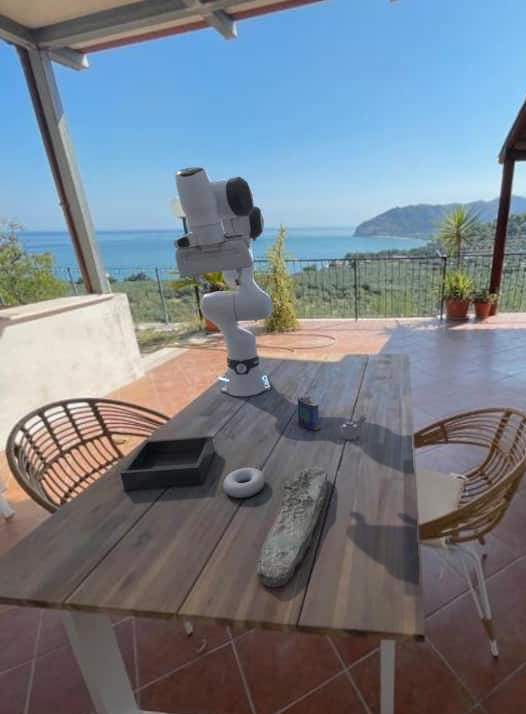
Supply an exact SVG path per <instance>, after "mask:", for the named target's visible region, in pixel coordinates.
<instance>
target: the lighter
mask: <svg viewBox="0 0 526 714" xmlns="http://www.w3.org/2000/svg"><path fill="white" fill-rule="evenodd" d="M366 420H367V415H366V414H364V413H362V414H361V416H360V417H359V420H358V422H356V423H357V424H354V421H347V422H345V423H344V424H342V439H343V440H352V441H353V440H355V441H356V440H357V439H358V429H362V427H363V425H364V424H365V422H366Z"/></svg>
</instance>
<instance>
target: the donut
mask: <svg viewBox="0 0 526 714" xmlns="http://www.w3.org/2000/svg"><path fill="white" fill-rule="evenodd" d="M222 484H223V485H222V489H223V490H224V492H225V494H226V495H228V496H230V497H232V498H236V499H244V498H249V497H252V496H254V495H255V494H256V495H257V494H258V493H259V492H260V491H261V490H262V489H263V488H264V486H265V484H266V476H265V474H264V473H263V472H262V471H261V470H259V469H257V468H254V467H242V468H238V469H235V470H233V471H232V472H230V473H229V474H228V475H226V477H225V478H224V480H223V483H222Z"/></svg>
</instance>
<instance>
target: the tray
mask: <svg viewBox="0 0 526 714" xmlns="http://www.w3.org/2000/svg"><path fill="white" fill-rule="evenodd" d="M213 438H214V437H213V436H212V435H209V436H208V435H207V436H194V437H179V438H164V439H162V438H161V439H149V440H144V441H143V442H142V444H141V445H140V446H139V448H138V449H137V451H136V452H135V453H134V454H133V455H132V457H131V459H130V460H129V461H128V462H127V463H126V465H125V466H124V468H122V470H121V472H120V473H119V474H120V477H121V482H122V486H123V489H124V491H136V490H147V489H149V490H150V489H160V488H171V487H172V488H173V487H185V486H187V487H188V486H198V485H202V484H203V482H204V479H205V476H206V474H207V471H208V468H209V467H210V464H211V461H212V459H213V456H214V455H215V451H216V450H215V445H214V439H213Z"/></svg>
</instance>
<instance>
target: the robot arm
mask: <svg viewBox="0 0 526 714" xmlns="http://www.w3.org/2000/svg"><path fill="white" fill-rule="evenodd" d="M174 176H175V177H174V179H175V185H176V191H177V195H178V200H179V204H180V207H181V209H182V211H183V213H184V215H185V217H186V225H187V229H188V232H187V233H185V234H183V235H182V236H180V237H178V238H176V239H175V240H174V241H173V246H174V248H175V249H176V251H175V254H174V255H175V257H174V258H175V261H176V267H177V269H178V273H179V274H180V275H181V276H183V277H188V276H194V279H195V281H196V282H197V283H199V284H200V285H201V288H202V291H207V290H210V289H211V287H210V285H209V282H208V281H205V280H204V279H203V278H202V277H203V275H205V274H211V273H218V272H219V273H220V272H222V279H223V281H224V283H226V284H227V285H228V286H229V287H231V288H232V289H235V290H219V291H218V290H217V291H212V292H208V293H205V294H203V296H202V297H201V298H200V302H199V309H200V312H201V314H202V316H203V317H204V318H205V319H206V320H207V321H209V322H211V323H212V324H213V325H214V326H216V327H217V329H218V330H219V331H220V333H221V335H222V336H223V337H222V338H223V339H224V344H225V347H226V354H227V357H226V364H227V368H226V370H225V371H224V377H220V376H218V379H219V380H221V381H224V383H225V385H224V386H223V387H222V388H221V392H222V393H226V394H228V395H230V396H234V397H251V396H256V395H259V394H261V393H263V392H265V391H266V392H267V391H269V390H271V385H270V381H269V378H268V376H267V375H265V372H264V369H263V368H262V366H261V365H260V356H259V354H258V348H257V338H256V336H255V334H254V333H252V332H251V331H250V330H248V329H246V328H243V327H242V326H241V325H240V324H239V322H255V321H256V322H257V321H261V320H265V319H268V318H269V317H270V316H271V314H272V313H273V308H274V305H273V300H272V298H271V296H270V295H269V294H268V293H267V292H265V291H263V290H262V289H261V288H260V287H259V286H258V284H257V283H256V281H255V278H254V263H255V261H254V254H253V249H252V244H251V240H252V241H253V242H256V241H257V238H259V237H261V235H262V234H263V232H264V229H265V223H266V220H265V216H264V213H263V212H262V209H261V208H260V207H258V206H255V197H254V193H253V189H252V188H251V187H252V186H251V185H250V184H249V182H248V181H247V180H246V179H244V178H243V177H242V176H235V177H230V178H224V179H217V180H210V177H209V175H208V172H207V171H206V169H205V168H204V167H199V166H198V167H197V166H196V167H187V168H183V169H180V170H178V171H176V173H175V175H174Z"/></svg>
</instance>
